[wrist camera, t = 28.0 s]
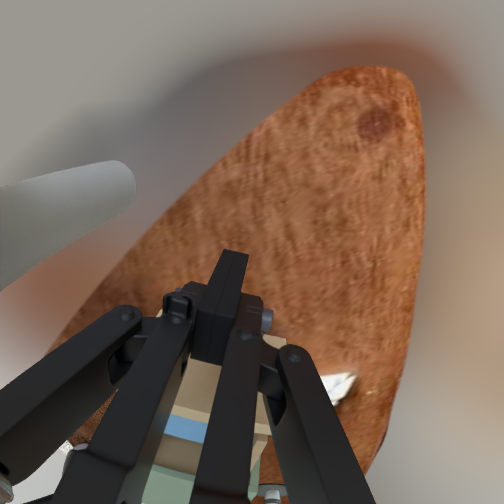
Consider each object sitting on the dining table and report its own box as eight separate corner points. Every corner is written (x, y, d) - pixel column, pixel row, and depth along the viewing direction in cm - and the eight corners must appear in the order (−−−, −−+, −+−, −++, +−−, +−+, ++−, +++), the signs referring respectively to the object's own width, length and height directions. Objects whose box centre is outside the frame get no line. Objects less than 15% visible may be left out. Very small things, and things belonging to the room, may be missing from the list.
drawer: (166, 244, 23) (107, 308, 14) (307, 277, 23) (324, 361, 14) (157, 399, 30) (131, 465, 21) (252, 422, 30) (245, 493, 21)
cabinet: (155, 378, 30) (119, 459, 19) (263, 404, 30) (257, 493, 19) (156, 438, 35) (134, 500, 24) (239, 458, 35) (231, 523, 24)
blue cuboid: (176, 382, 27) (158, 431, 21) (179, 347, 25) (157, 399, 19) (243, 398, 27) (236, 450, 21) (254, 365, 25) (248, 421, 19)
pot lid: (227, 486, 40) (224, 507, 36) (283, 474, 37) (282, 499, 32) (265, 503, 43) (264, 522, 38) (317, 491, 40) (318, 512, 35)
